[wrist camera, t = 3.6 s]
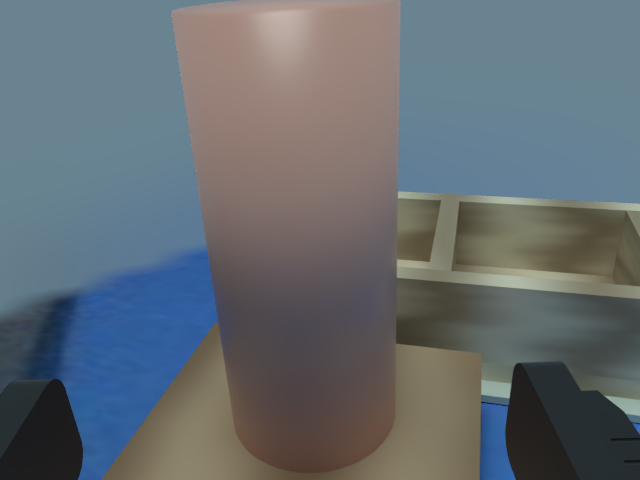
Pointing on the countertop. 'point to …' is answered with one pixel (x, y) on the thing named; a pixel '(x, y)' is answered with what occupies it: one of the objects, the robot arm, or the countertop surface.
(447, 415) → the board
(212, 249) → the pink cylinder
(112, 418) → the countertop surface
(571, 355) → the caddy
